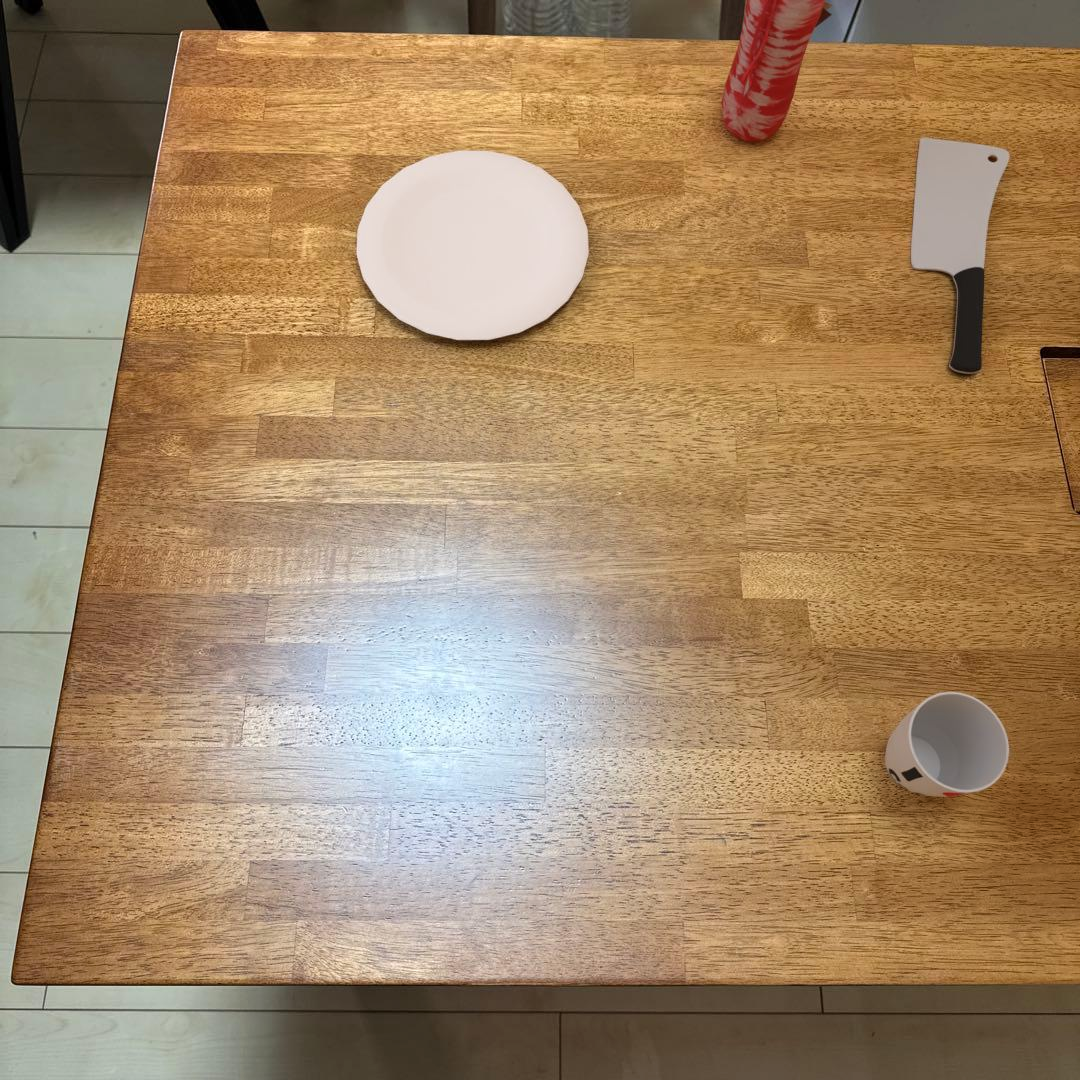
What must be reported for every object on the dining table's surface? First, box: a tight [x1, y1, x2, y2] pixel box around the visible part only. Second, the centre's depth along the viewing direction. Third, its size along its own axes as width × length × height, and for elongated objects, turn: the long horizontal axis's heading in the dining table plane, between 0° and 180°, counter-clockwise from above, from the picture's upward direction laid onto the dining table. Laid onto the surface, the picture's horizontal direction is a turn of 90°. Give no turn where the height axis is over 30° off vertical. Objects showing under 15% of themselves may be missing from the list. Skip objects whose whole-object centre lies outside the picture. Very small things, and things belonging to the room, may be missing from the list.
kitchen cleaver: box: [910, 137, 1011, 377], centre depth 112 cm, size 31×2×10 cm
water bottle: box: [720, 0, 833, 143], centre depth 107 cm, size 12×8×25 cm, turn 140°
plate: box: [355, 150, 590, 342], centre depth 110 cm, size 25×25×2 cm
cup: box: [884, 691, 1010, 798], centre depth 87 cm, size 8×8×10 cm
